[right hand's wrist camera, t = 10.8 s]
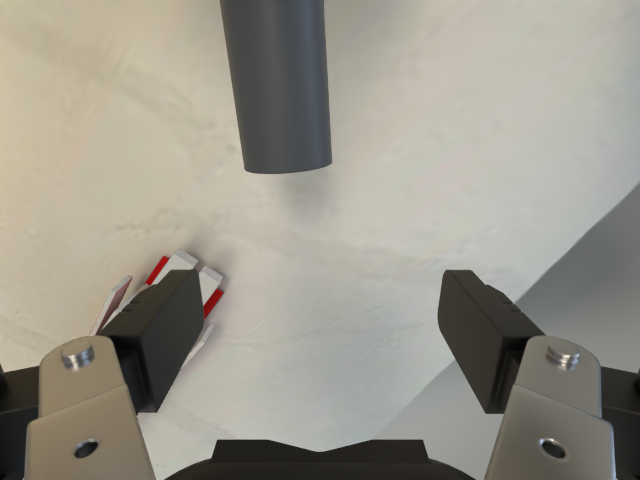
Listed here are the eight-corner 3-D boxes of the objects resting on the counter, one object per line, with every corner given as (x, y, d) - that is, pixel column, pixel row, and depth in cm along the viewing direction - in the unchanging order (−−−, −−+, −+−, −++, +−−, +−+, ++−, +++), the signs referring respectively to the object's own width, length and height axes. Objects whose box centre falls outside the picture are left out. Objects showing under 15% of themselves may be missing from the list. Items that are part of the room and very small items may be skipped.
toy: (233, 313, 37) (91, 496, 41) (248, 271, 50) (139, 414, 54) (131, 248, 34) (-8, 452, 39) (175, 222, 47) (67, 377, 52)
